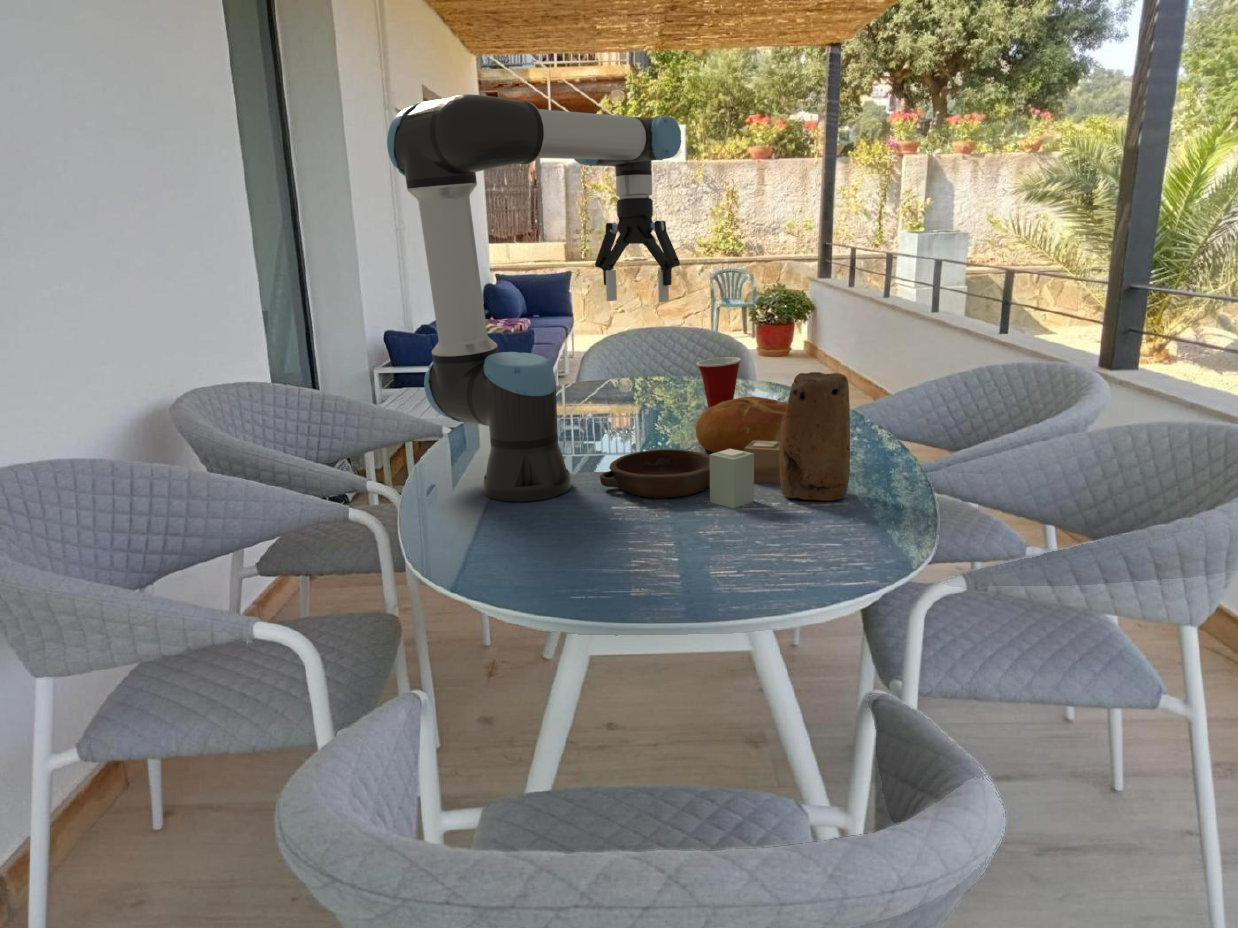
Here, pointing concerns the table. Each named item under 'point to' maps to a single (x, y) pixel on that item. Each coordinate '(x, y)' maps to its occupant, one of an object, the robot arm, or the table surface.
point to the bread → (740, 423)
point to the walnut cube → (765, 460)
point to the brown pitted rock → (816, 438)
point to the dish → (659, 473)
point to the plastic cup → (719, 378)
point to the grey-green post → (731, 478)
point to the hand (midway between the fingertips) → (637, 301)
